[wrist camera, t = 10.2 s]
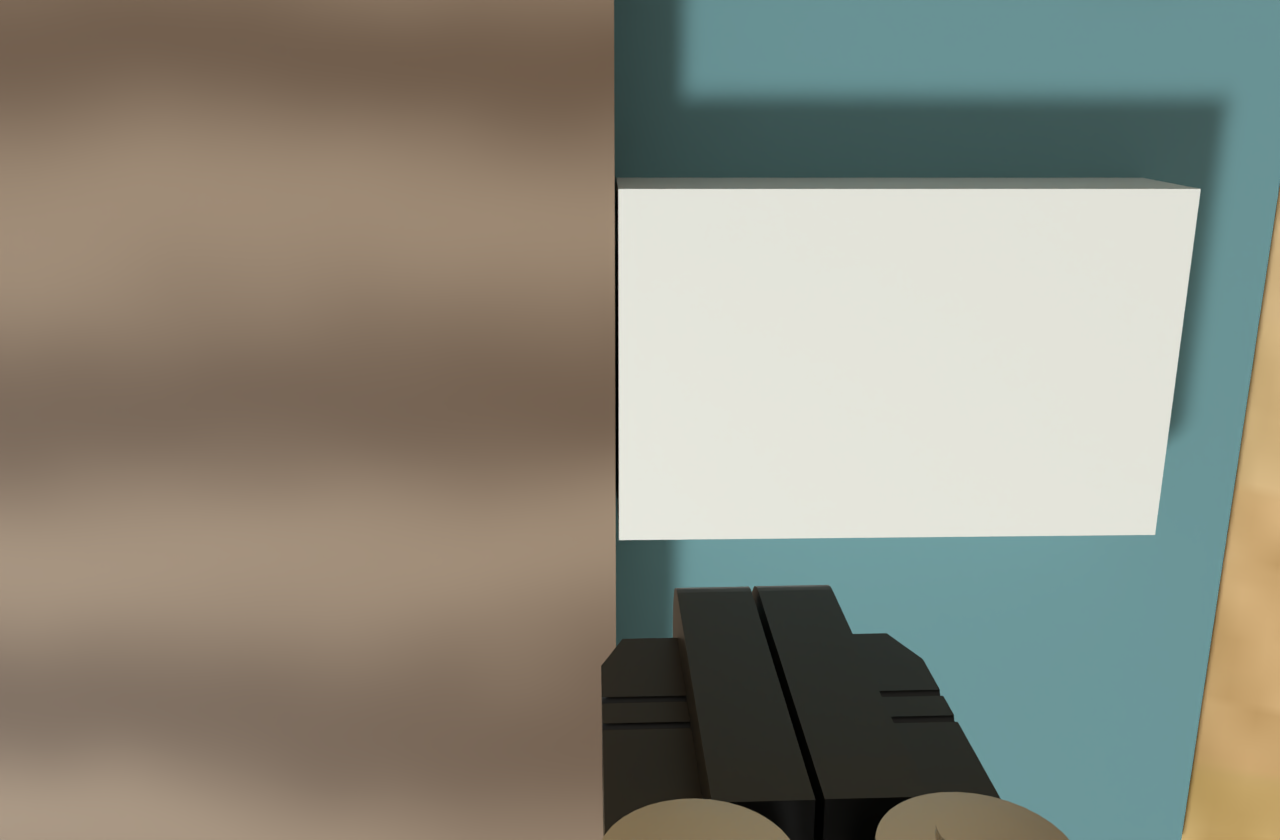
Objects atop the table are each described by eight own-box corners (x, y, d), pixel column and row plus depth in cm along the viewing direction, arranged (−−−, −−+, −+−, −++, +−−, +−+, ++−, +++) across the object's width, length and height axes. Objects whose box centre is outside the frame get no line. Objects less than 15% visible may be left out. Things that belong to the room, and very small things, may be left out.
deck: (-127, -214, 23) (-232, -256, 20) (611, -206, 23) (613, -245, 20) (34, 797, 29) (-29, 877, 26) (614, 787, 29) (616, 865, 26)
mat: (610, -323, 23) (611, -333, 22) (1336, -313, 23) (1355, -322, 22) (615, 857, 30) (615, 873, 29) (1166, 847, 30) (1177, 861, 30)
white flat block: (616, 177, 25) (618, 188, 22) (1143, 177, 25) (1200, 189, 23) (617, 497, 27) (618, 540, 24) (1105, 493, 27) (1155, 535, 25)
